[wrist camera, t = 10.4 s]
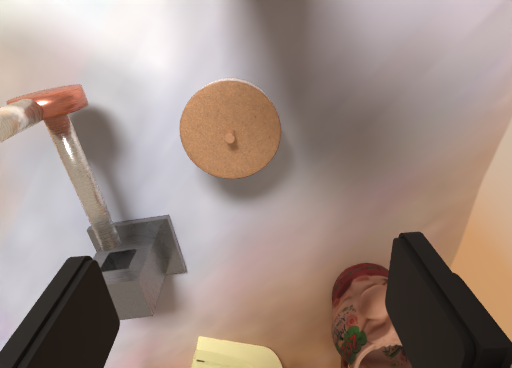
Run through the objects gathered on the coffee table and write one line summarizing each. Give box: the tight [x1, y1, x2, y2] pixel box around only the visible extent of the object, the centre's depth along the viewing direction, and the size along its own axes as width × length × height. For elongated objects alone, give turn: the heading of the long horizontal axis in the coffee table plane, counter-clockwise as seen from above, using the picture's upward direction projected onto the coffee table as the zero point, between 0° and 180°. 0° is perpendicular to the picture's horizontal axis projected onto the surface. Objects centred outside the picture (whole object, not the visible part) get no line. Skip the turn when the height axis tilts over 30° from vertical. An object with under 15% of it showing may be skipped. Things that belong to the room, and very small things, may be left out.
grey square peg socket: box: [87, 215, 186, 320], centre depth 47 cm, size 10×12×11 cm
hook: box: [0, 85, 121, 251], centre depth 36 cm, size 20×7×13 cm, turn 9°
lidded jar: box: [180, 78, 281, 179], centre depth 38 cm, size 11×11×9 cm
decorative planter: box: [332, 263, 412, 368], centre depth 50 cm, size 20×12×14 cm, turn 165°
